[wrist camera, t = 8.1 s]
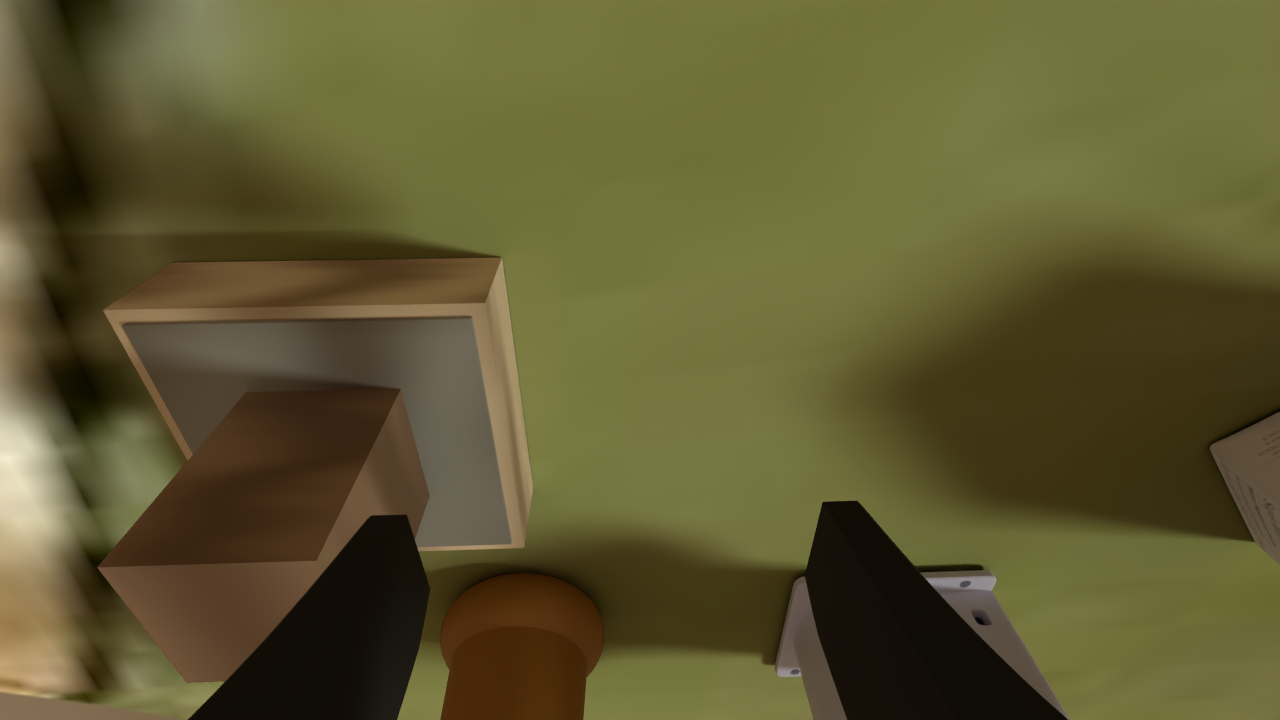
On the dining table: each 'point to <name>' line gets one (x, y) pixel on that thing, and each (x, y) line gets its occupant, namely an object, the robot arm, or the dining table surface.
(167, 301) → the wooden framed grey panel
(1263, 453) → the supplement box
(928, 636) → the robot arm
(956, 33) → the dining table surface
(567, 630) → the ornamental finial
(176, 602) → the walnut block
